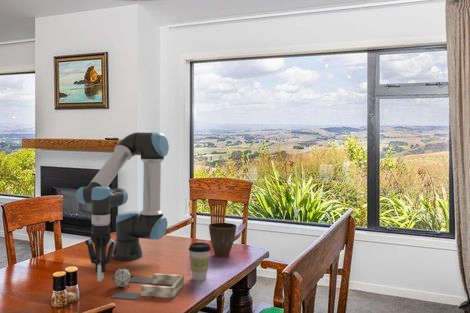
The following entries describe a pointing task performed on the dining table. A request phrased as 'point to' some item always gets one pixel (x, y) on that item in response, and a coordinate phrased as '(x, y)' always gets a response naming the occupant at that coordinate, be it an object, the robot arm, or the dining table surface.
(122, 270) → the game die
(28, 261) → the dining table surface
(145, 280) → the mats
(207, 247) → the coffee cup
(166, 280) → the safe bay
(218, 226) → the plant pot
